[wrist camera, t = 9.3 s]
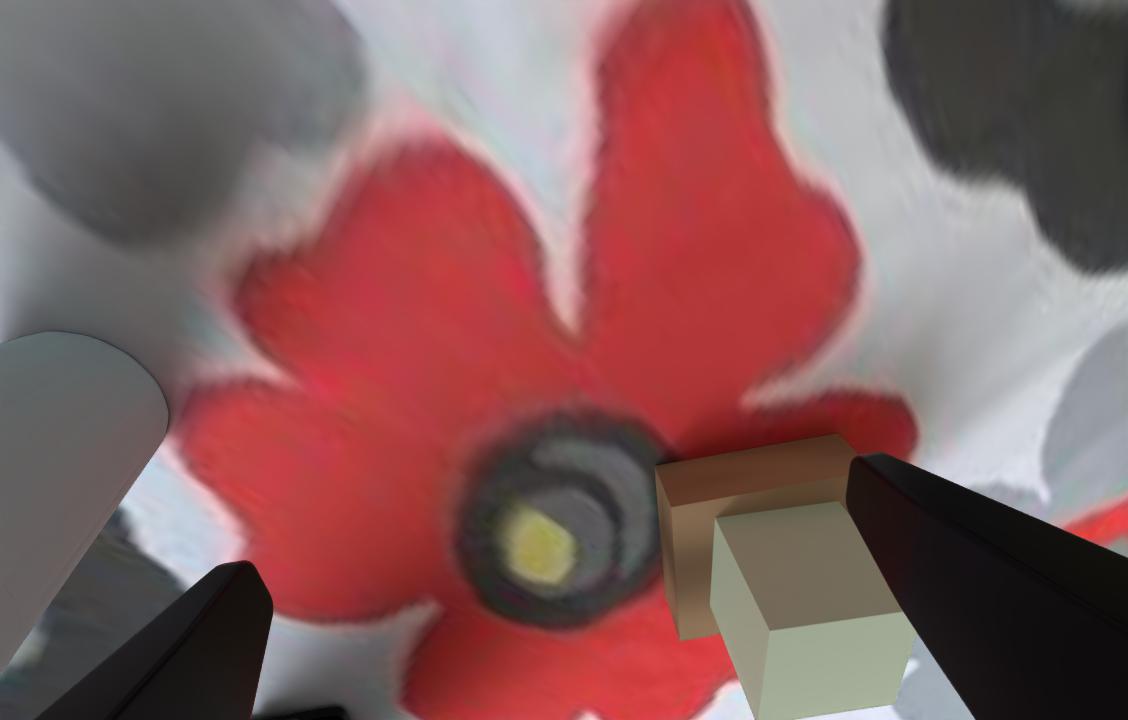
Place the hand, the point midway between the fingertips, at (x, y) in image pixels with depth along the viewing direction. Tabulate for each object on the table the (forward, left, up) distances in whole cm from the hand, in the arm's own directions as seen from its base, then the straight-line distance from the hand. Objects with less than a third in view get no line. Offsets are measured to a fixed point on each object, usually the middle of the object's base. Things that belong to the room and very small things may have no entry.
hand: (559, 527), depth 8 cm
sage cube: (-13, -8, -10) cm, 18 cm away
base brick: (-13, -8, -12) cm, 20 cm away
